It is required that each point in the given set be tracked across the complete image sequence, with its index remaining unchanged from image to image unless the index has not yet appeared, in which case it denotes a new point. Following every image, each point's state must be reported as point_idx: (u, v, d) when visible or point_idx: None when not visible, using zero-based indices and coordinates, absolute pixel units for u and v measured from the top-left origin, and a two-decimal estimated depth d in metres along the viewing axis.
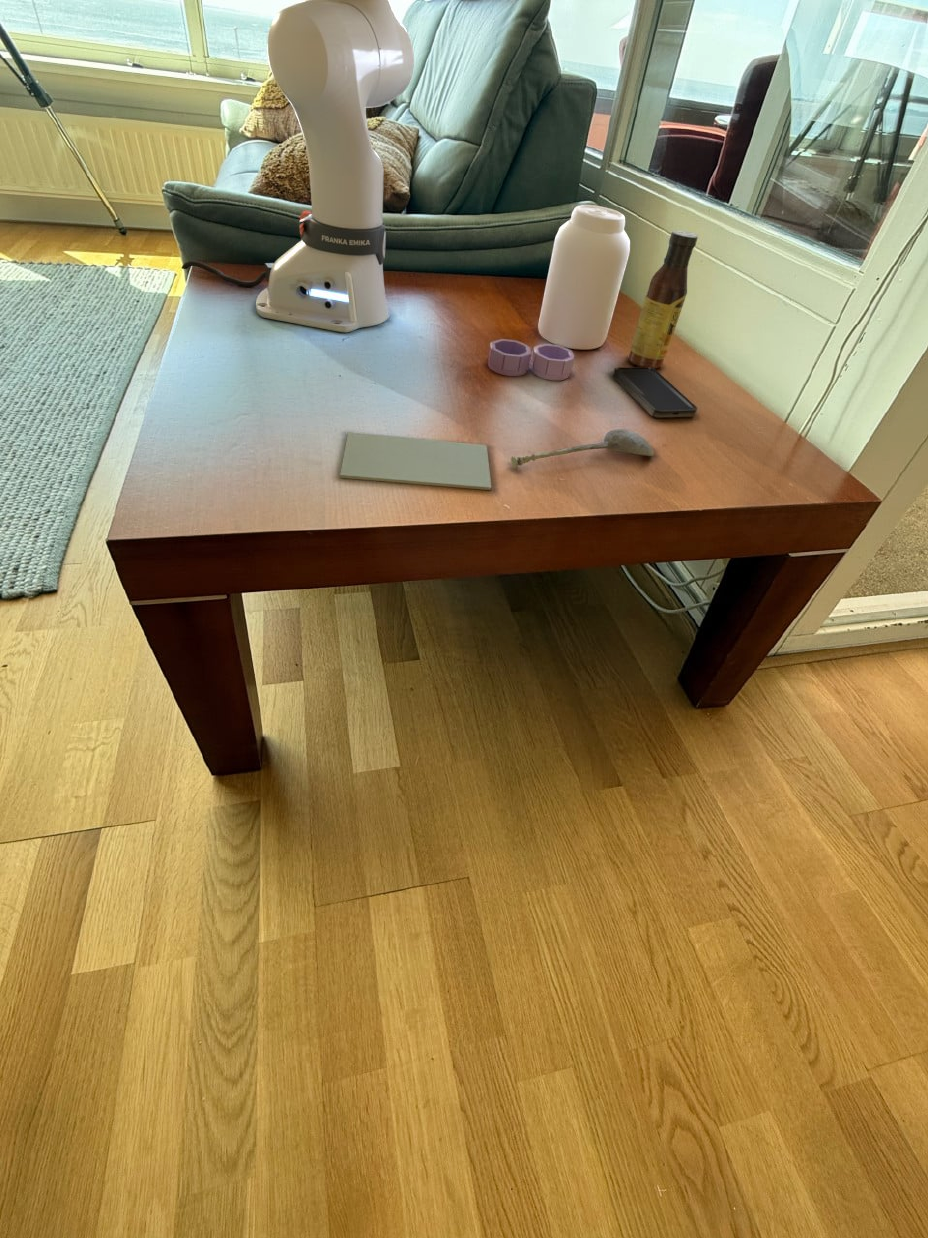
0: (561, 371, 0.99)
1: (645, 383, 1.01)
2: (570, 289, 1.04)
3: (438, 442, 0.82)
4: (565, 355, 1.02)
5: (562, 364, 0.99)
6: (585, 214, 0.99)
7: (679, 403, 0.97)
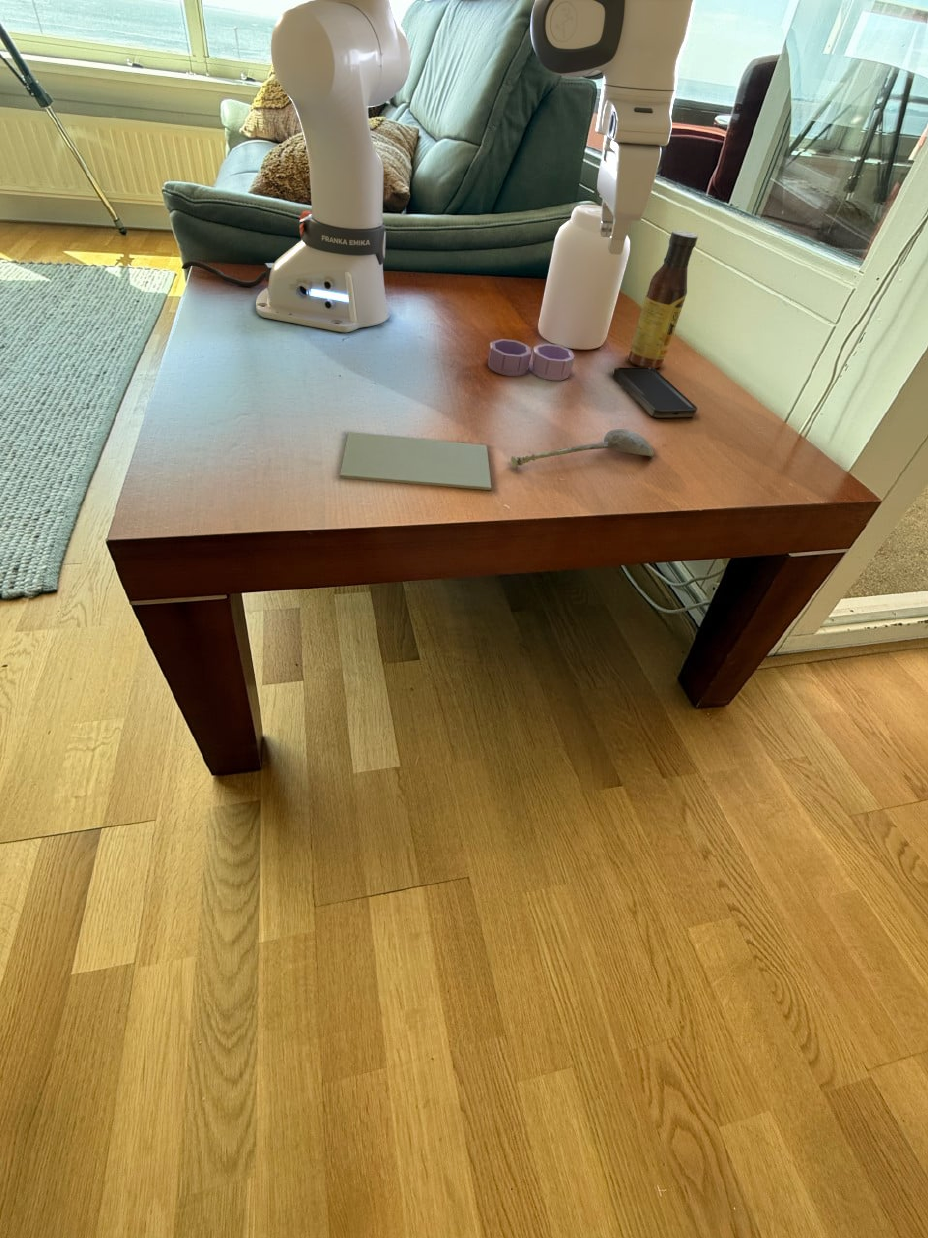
0: (561, 371, 0.99)
1: (645, 383, 1.01)
2: (570, 289, 1.04)
3: (438, 442, 0.82)
4: (565, 355, 1.02)
5: (562, 364, 0.99)
6: (585, 214, 0.99)
7: (679, 403, 0.97)
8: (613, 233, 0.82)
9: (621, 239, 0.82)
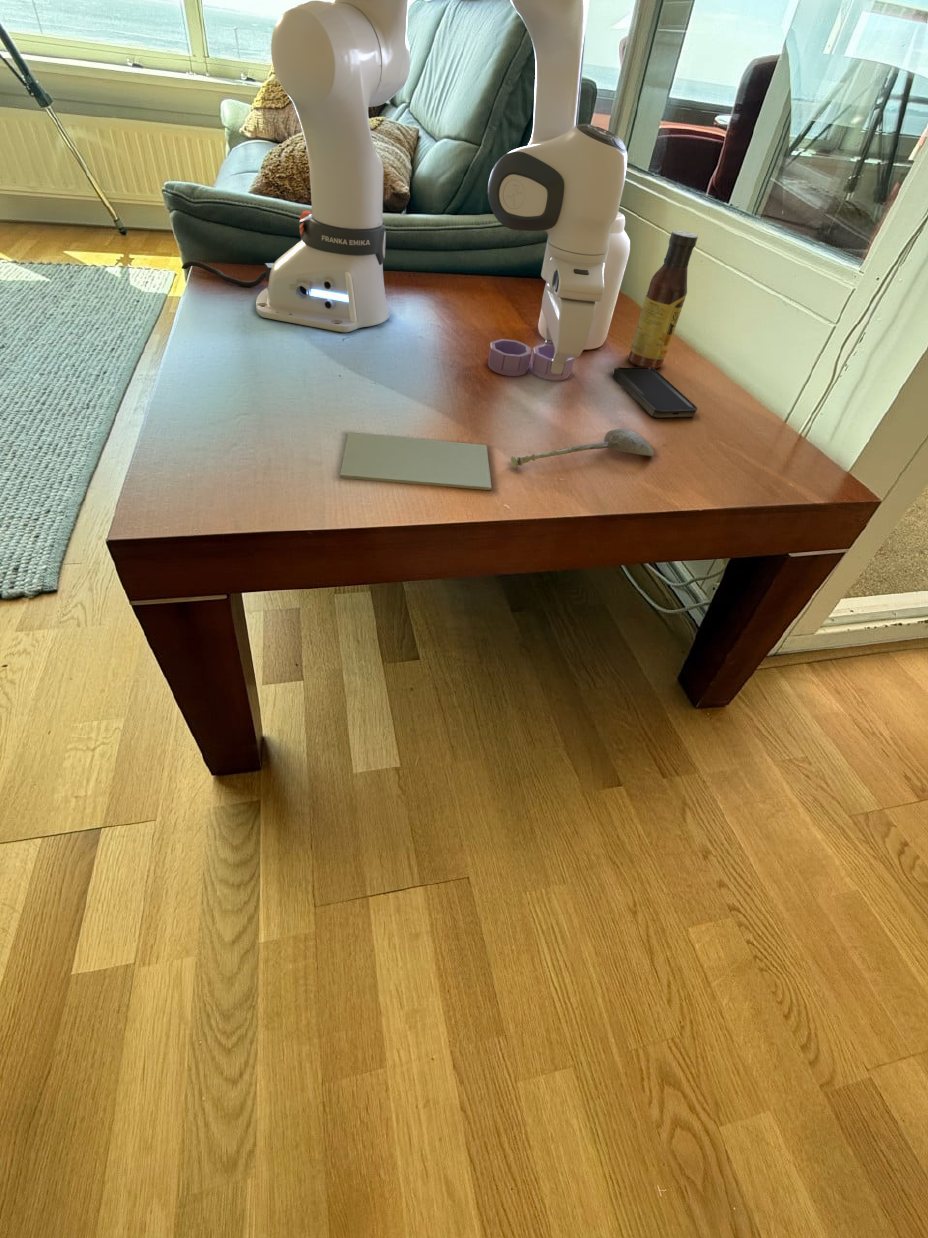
0: None
1: (645, 383, 1.01)
2: None
3: (438, 442, 0.82)
4: None
5: None
6: None
7: (679, 403, 0.97)
8: (554, 358, 0.96)
9: (561, 363, 0.97)
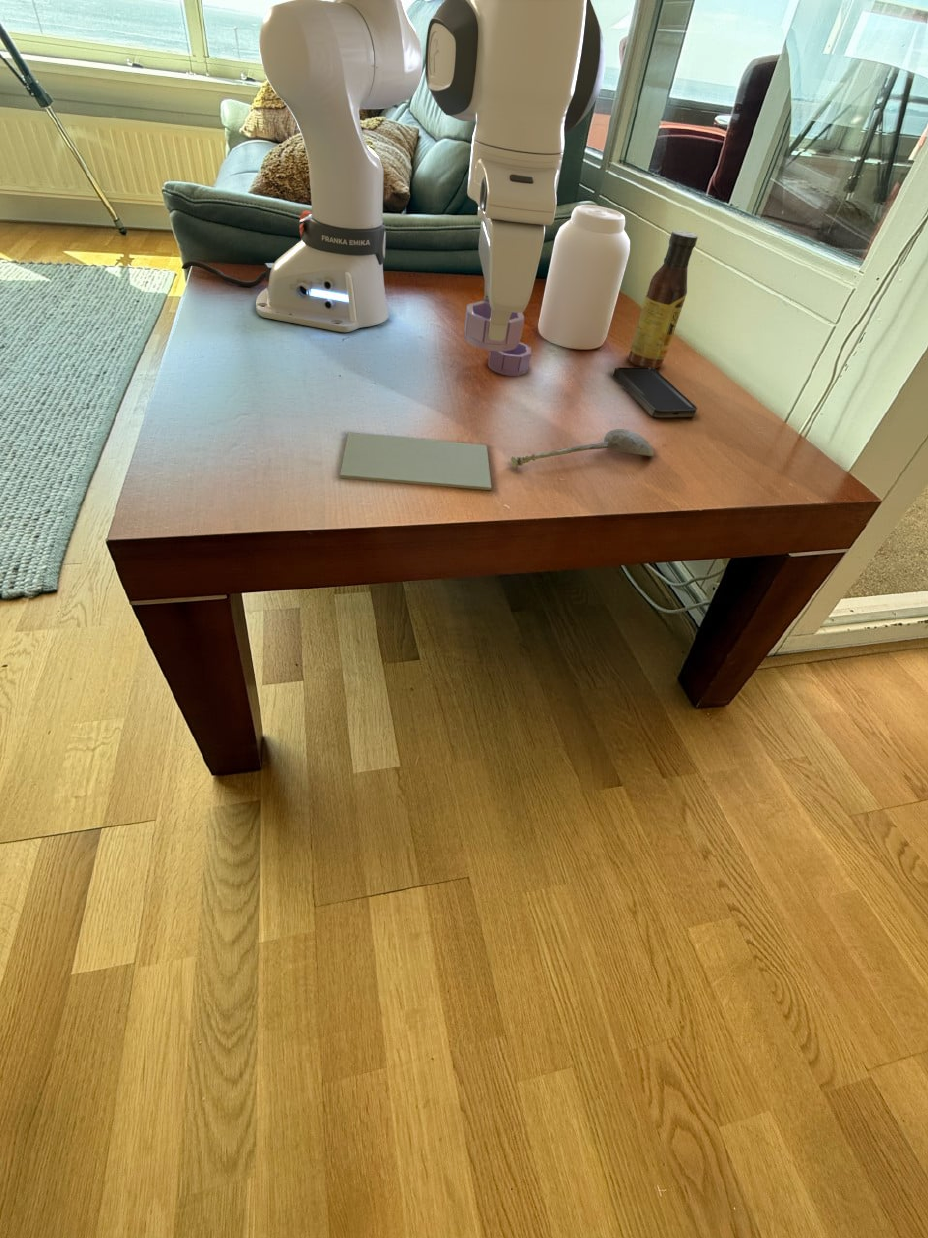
0: (505, 338, 0.70)
1: (645, 383, 1.01)
2: (570, 289, 1.04)
3: (438, 442, 0.82)
4: (512, 316, 0.73)
5: None
6: (585, 214, 0.99)
7: (679, 403, 0.97)
8: (492, 318, 0.66)
9: (502, 324, 0.67)
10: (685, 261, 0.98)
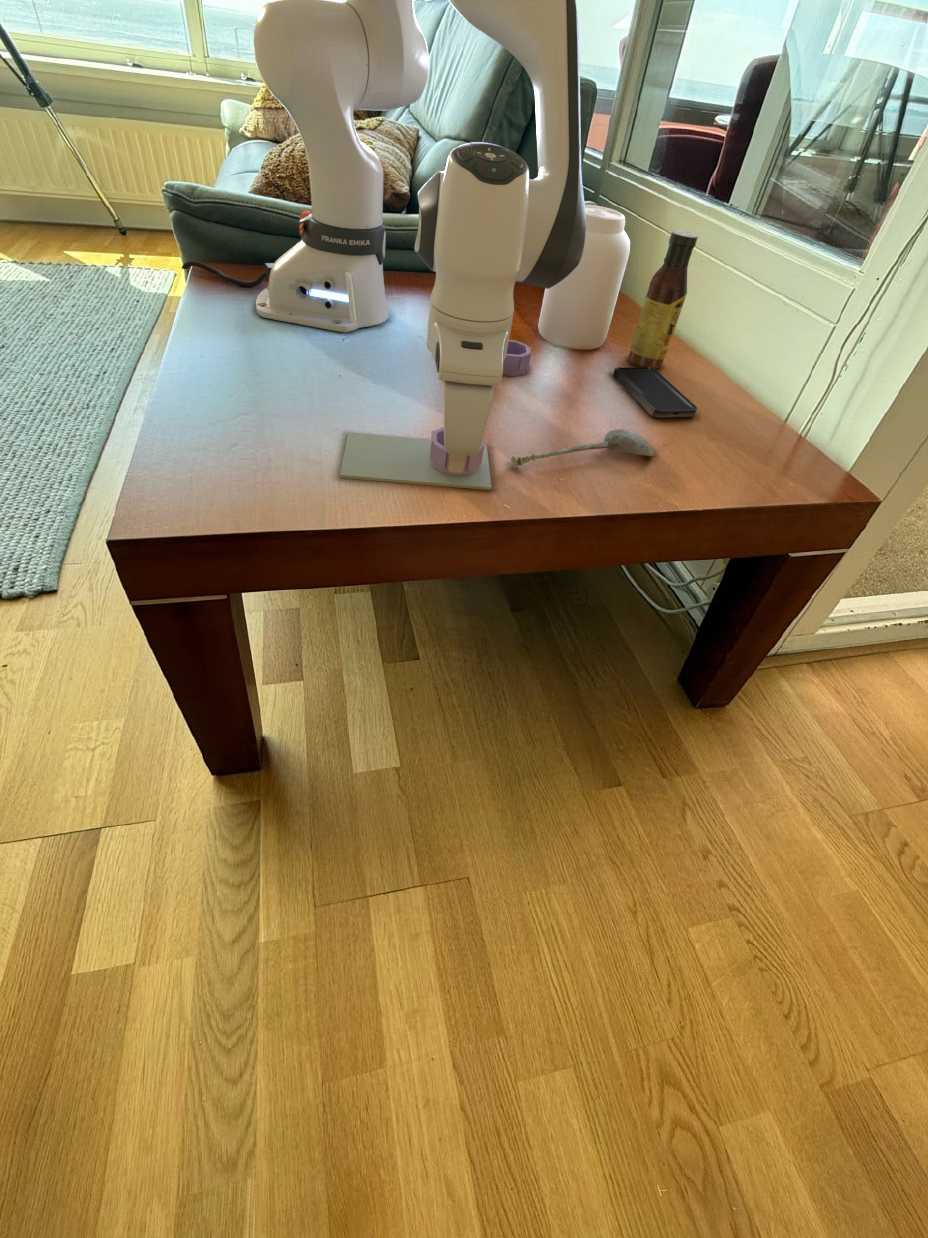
0: (466, 465, 0.76)
1: (645, 383, 1.01)
2: (570, 289, 1.04)
3: None
4: None
5: (466, 457, 0.75)
6: (585, 214, 0.99)
7: (679, 403, 0.97)
8: (450, 455, 0.71)
9: (460, 460, 0.72)
10: (685, 261, 0.98)
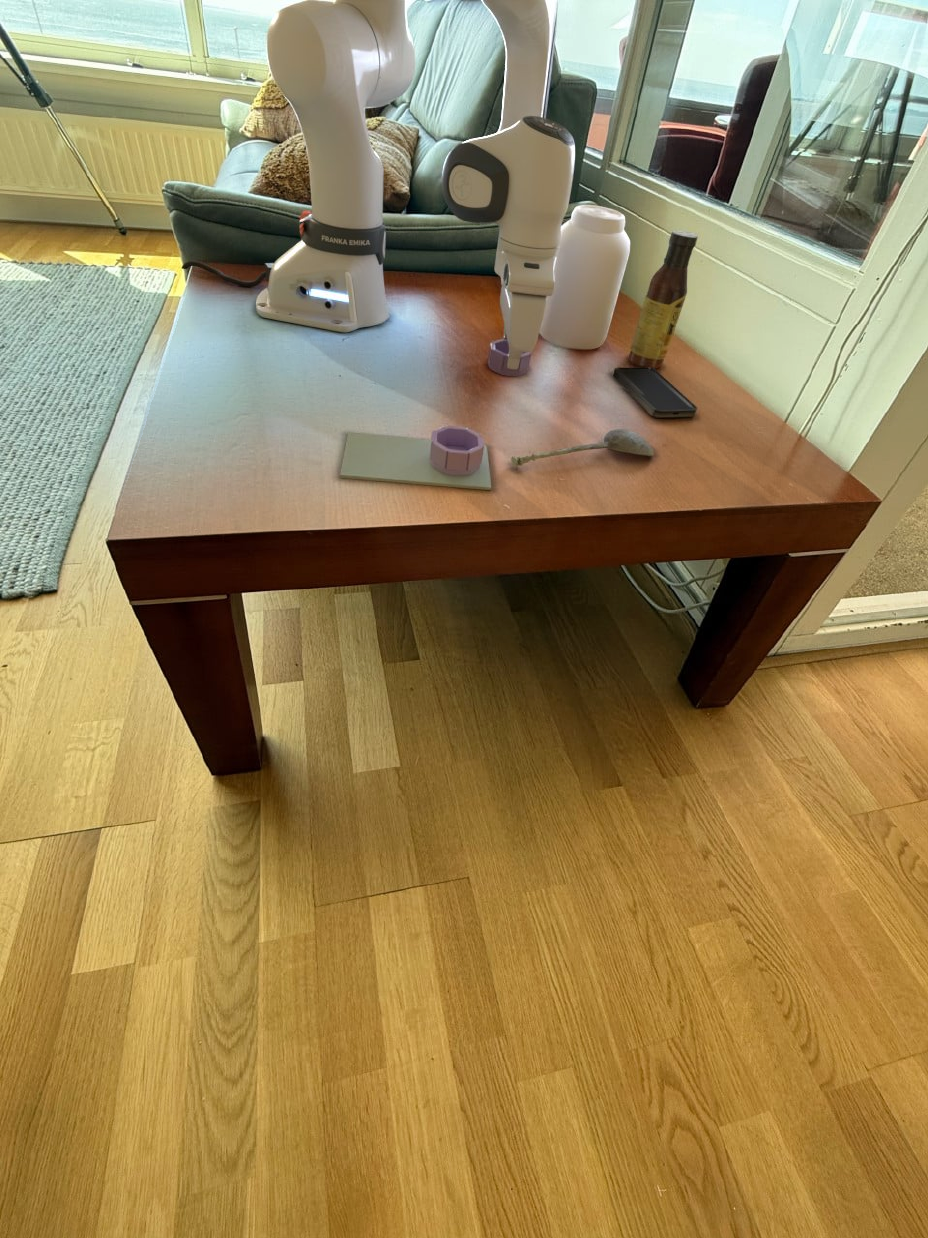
0: (466, 465, 0.76)
1: (645, 383, 1.01)
2: (570, 289, 1.04)
3: None
4: (474, 441, 0.78)
5: (466, 457, 0.75)
6: (585, 214, 0.99)
7: (679, 403, 0.97)
8: (510, 354, 0.95)
9: (517, 358, 0.96)
10: (685, 261, 0.98)
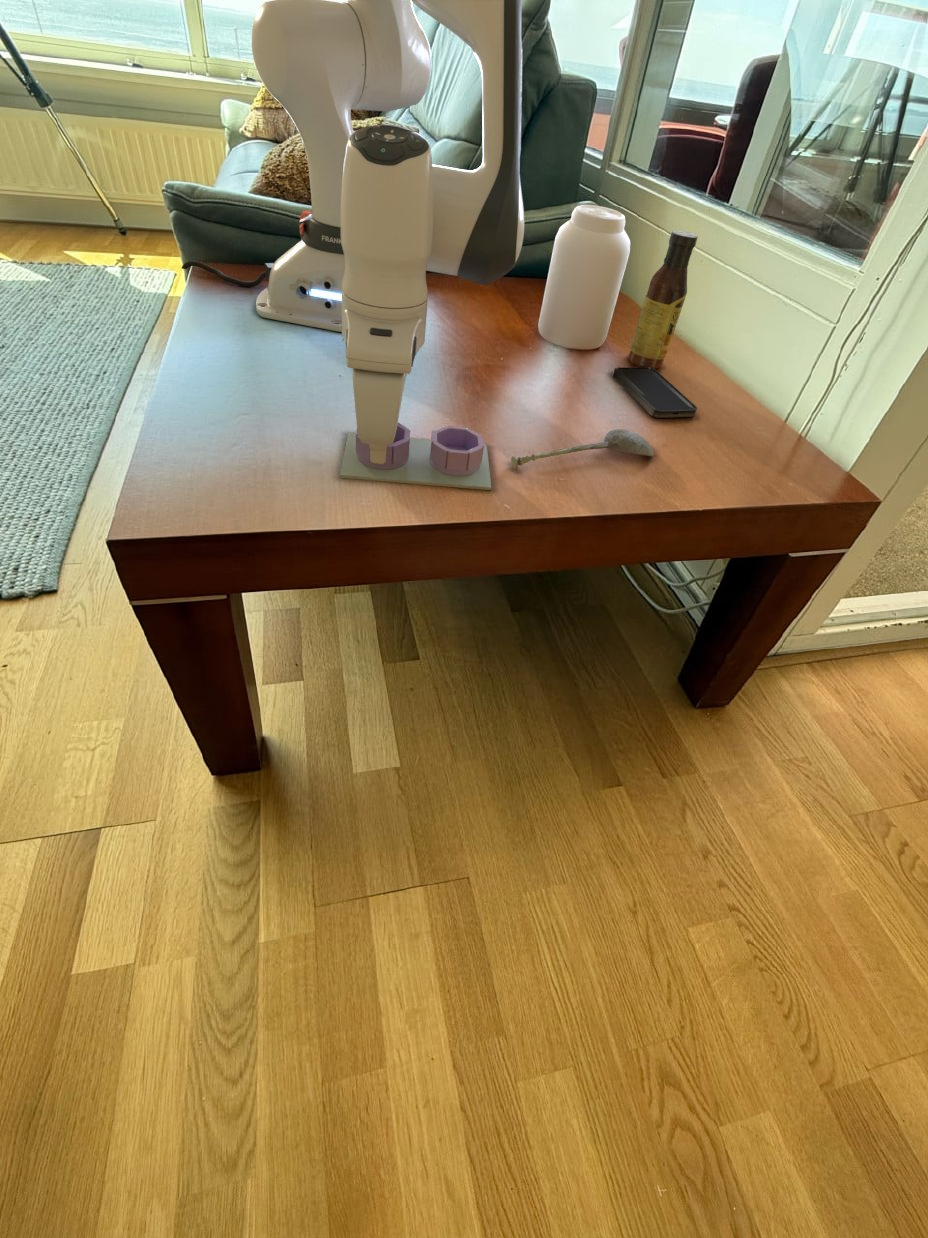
0: (466, 465, 0.76)
1: (645, 383, 1.01)
2: (570, 289, 1.04)
3: None
4: (474, 441, 0.78)
5: (466, 457, 0.75)
6: (585, 214, 0.99)
7: (679, 403, 0.97)
8: (370, 446, 0.70)
9: (381, 450, 0.71)
10: (685, 261, 0.98)
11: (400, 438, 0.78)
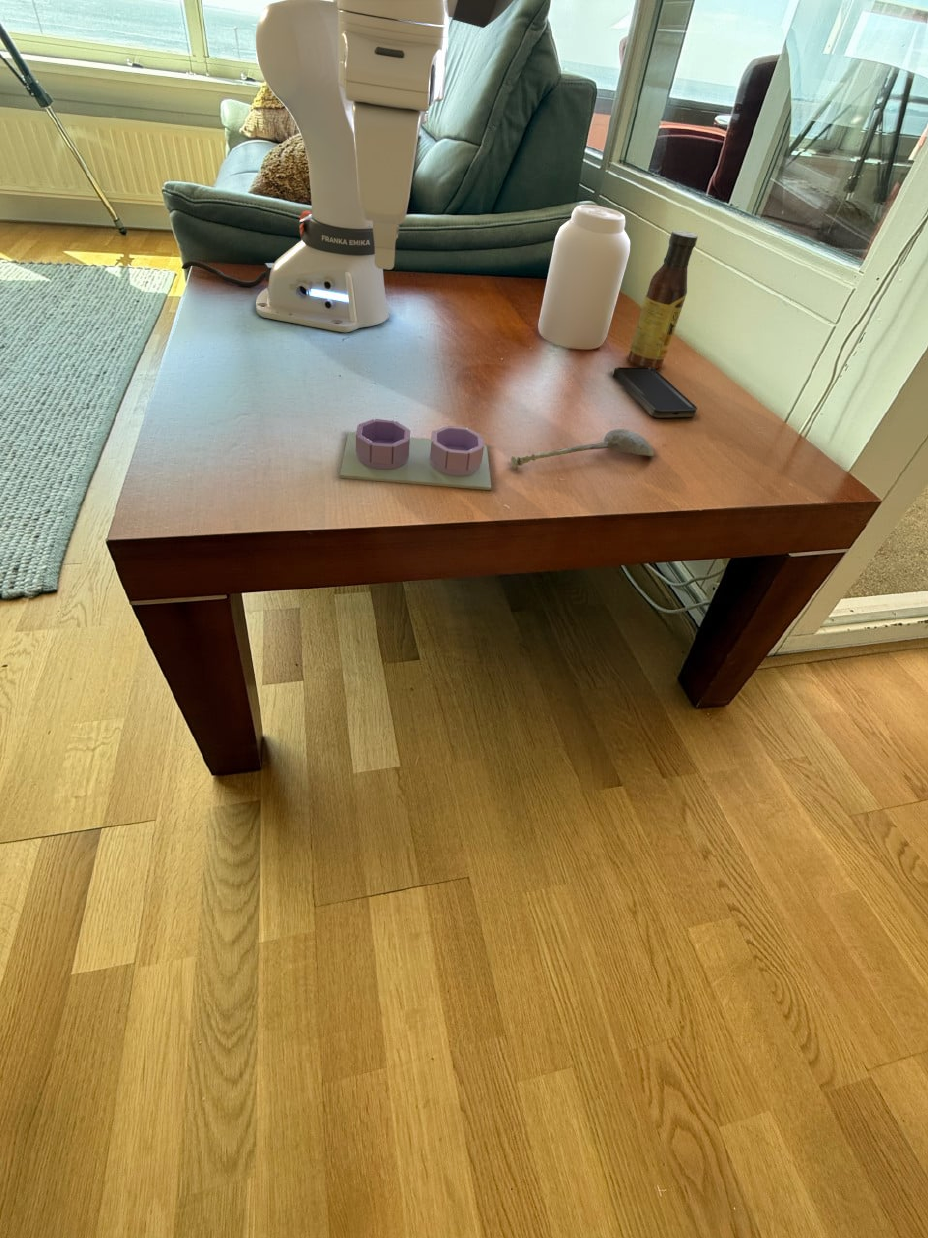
0: (466, 465, 0.76)
1: (645, 383, 1.01)
2: (570, 289, 1.04)
3: None
4: (474, 441, 0.78)
5: (466, 457, 0.75)
6: (585, 214, 0.99)
7: (679, 403, 0.97)
8: (375, 239, 0.56)
9: (389, 248, 0.57)
10: (685, 261, 0.98)
11: (400, 438, 0.78)
